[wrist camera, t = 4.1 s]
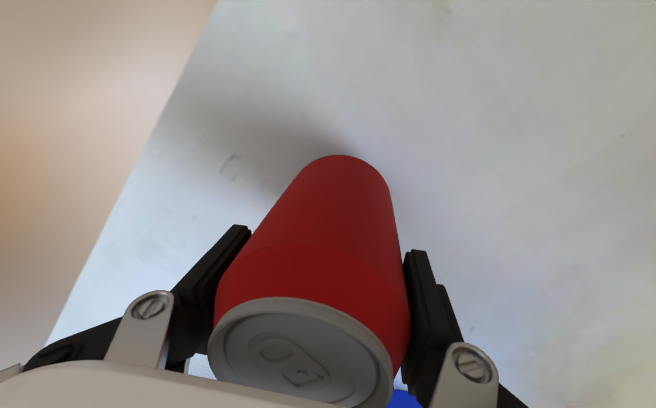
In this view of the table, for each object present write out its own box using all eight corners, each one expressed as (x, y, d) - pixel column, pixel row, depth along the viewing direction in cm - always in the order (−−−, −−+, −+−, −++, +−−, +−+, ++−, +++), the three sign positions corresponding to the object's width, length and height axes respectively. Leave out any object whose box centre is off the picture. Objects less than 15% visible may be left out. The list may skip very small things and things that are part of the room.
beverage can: (333, 253, 20) (291, 453, 9) (274, 188, 18) (139, 344, 8) (410, 209, 17) (472, 417, 7) (350, 128, 16) (306, 238, 5)
